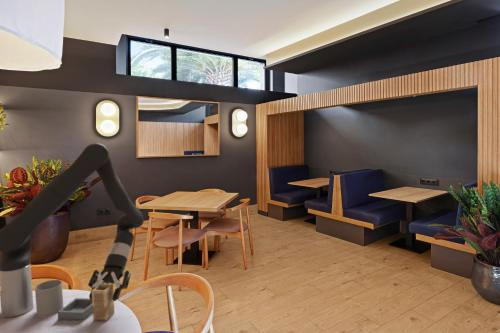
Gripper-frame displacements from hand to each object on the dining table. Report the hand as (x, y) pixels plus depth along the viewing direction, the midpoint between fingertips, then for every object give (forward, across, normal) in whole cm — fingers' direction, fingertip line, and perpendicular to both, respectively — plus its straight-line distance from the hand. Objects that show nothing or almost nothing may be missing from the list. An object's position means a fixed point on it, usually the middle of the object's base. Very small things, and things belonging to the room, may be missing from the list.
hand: (102, 300), depth 106 cm
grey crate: (+3, -11, +6) cm, 13 cm away
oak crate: (+4, 0, +5) cm, 7 cm away
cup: (+2, -24, +7) cm, 25 cm away
